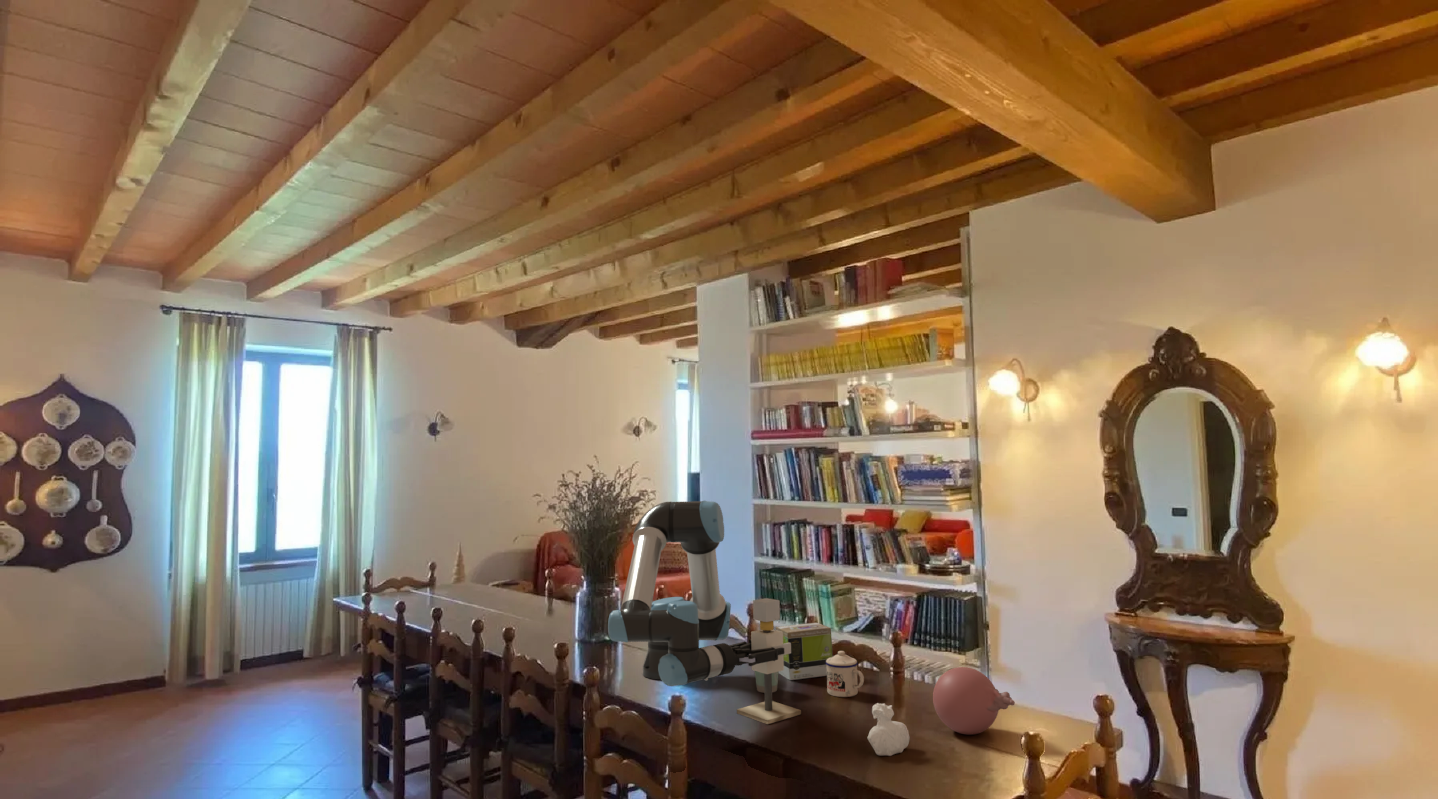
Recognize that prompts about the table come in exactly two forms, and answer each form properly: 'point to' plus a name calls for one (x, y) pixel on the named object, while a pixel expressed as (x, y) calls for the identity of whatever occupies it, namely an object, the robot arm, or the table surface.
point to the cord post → (766, 615)
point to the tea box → (806, 650)
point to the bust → (887, 732)
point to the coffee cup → (760, 681)
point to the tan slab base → (768, 712)
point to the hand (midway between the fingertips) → (781, 645)
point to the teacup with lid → (843, 675)
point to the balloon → (968, 700)
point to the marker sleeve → (766, 641)
